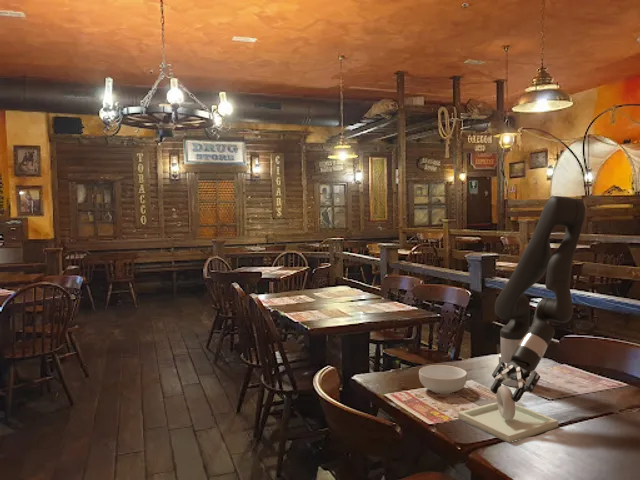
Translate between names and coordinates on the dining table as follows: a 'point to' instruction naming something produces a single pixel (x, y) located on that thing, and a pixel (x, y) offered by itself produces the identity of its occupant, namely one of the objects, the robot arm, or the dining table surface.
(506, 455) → the dining table surface
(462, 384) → the cereal bowl
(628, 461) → the dining table surface
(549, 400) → the dining table surface
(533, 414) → the tray
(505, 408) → the donut
